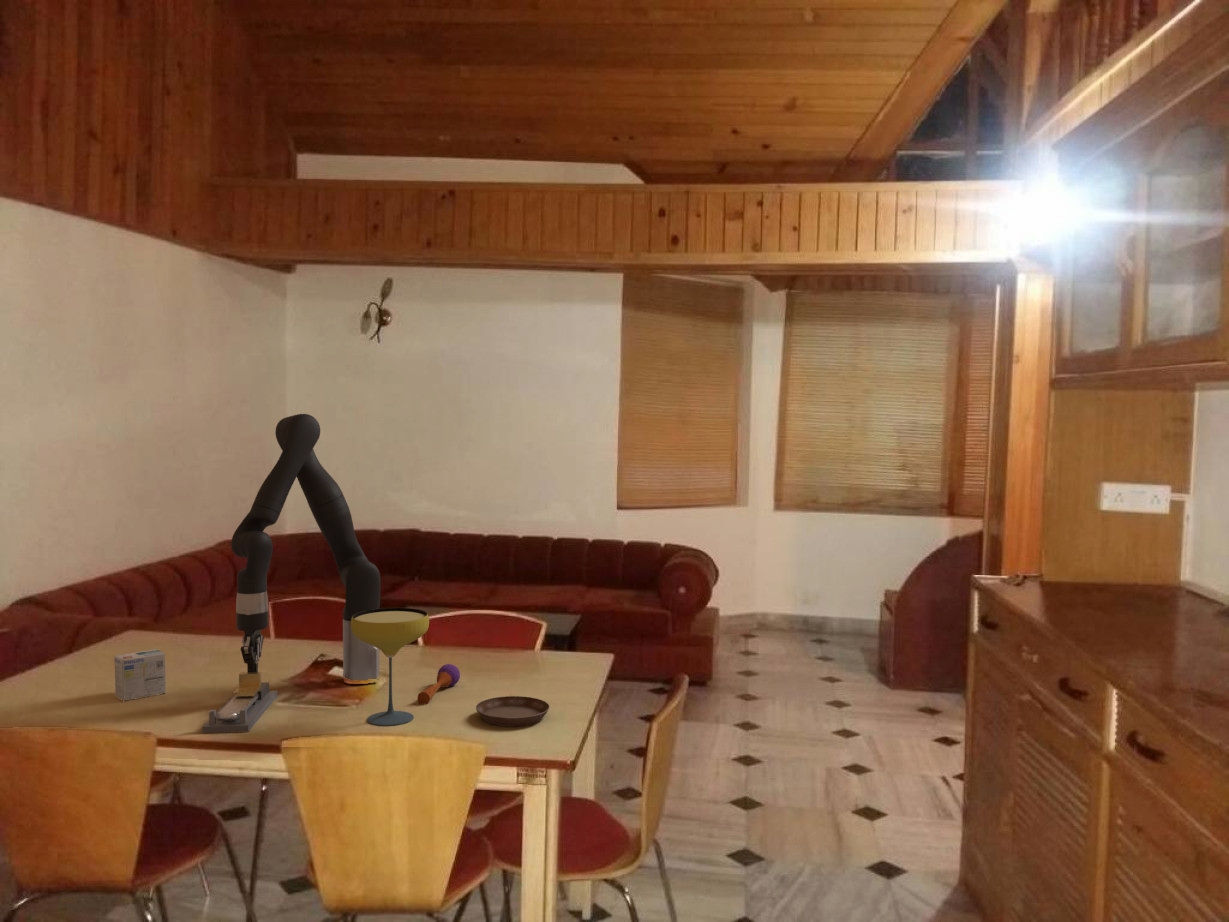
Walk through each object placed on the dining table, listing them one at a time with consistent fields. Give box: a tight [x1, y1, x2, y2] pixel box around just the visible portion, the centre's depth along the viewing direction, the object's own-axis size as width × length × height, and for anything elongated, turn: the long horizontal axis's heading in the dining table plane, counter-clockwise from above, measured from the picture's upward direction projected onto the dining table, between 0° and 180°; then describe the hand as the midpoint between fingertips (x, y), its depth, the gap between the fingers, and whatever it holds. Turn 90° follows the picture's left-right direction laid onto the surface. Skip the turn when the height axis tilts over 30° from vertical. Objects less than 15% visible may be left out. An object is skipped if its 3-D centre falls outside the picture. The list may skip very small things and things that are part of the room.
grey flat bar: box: [217, 694, 258, 721], centre depth 230 cm, size 18×5×2 cm, turn 6°
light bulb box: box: [114, 648, 167, 701], centre depth 249 cm, size 11×7×11 cm, turn 135°
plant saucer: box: [475, 695, 550, 727], centre depth 234 cm, size 18×18×3 cm
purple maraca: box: [417, 663, 461, 705], centre depth 254 cm, size 6×6×20 cm
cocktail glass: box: [351, 607, 430, 727], centre depth 231 cm, size 18×18×25 cm
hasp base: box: [202, 681, 278, 734], centre depth 234 cm, size 28×10×4 cm, turn 6°
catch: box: [232, 671, 263, 696], centre depth 239 cm, size 7×5×4 cm
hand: (252, 677), depth 244 cm, fingers closed
